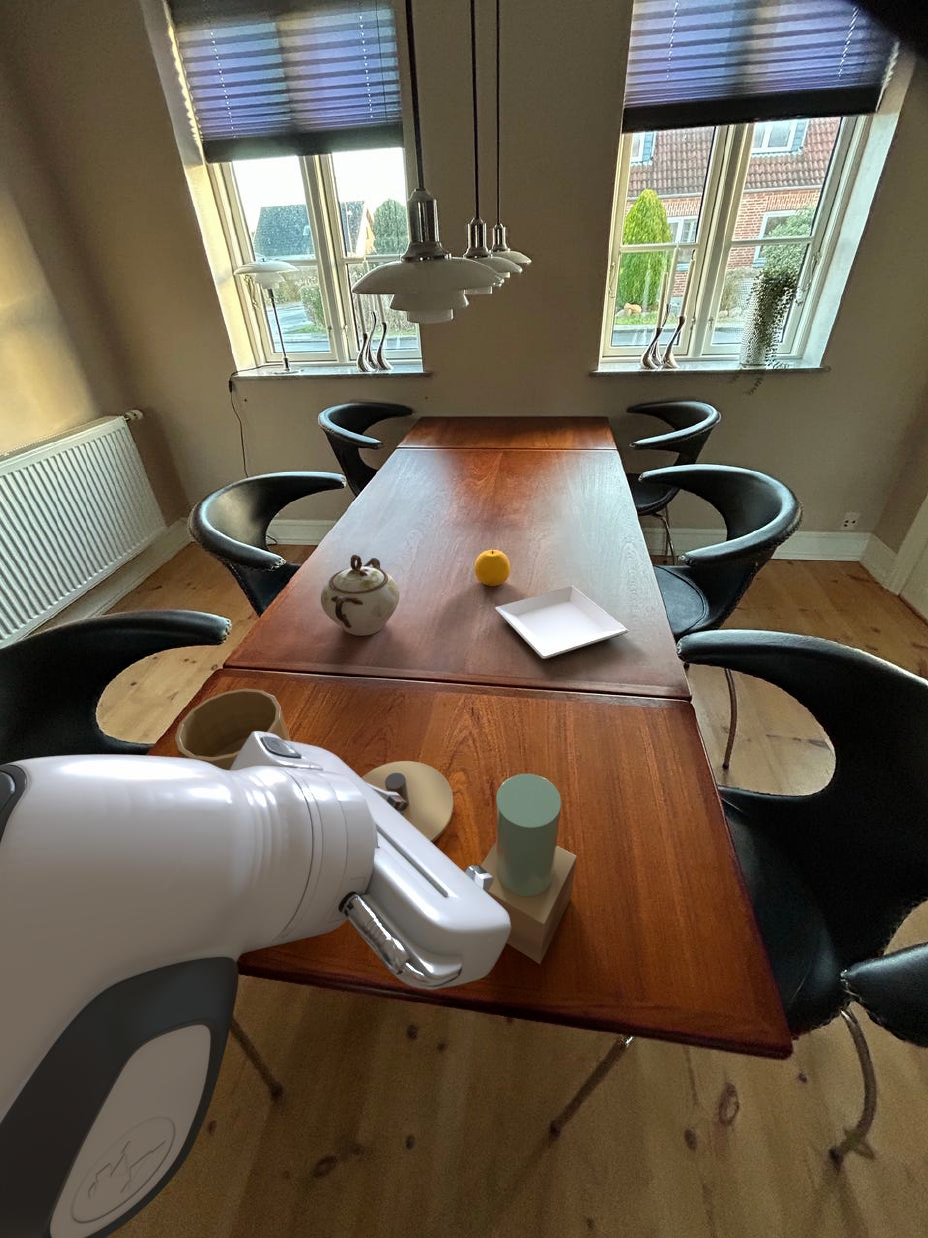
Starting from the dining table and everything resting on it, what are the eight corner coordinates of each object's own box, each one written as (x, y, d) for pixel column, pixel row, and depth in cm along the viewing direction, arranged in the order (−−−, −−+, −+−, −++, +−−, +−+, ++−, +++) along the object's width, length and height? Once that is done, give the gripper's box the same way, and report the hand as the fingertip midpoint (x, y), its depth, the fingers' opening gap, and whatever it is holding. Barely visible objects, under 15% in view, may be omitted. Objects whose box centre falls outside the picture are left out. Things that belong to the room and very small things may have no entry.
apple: (471, 588, 116) (470, 558, 112) (478, 571, 123) (478, 542, 118) (507, 592, 115) (507, 561, 110) (512, 574, 121) (513, 544, 117)
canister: (538, 908, 50) (544, 839, 44) (485, 877, 53) (484, 808, 47) (562, 859, 54) (571, 790, 48) (513, 833, 57) (514, 764, 51)
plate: (542, 667, 93) (543, 658, 92) (494, 615, 107) (494, 606, 106) (628, 639, 99) (630, 629, 98) (572, 593, 113) (573, 584, 112)
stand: (540, 964, 54) (544, 924, 49) (472, 922, 57) (470, 881, 53) (571, 897, 59) (577, 856, 55) (507, 862, 63) (508, 821, 58)
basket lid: (410, 880, 61) (405, 852, 58) (322, 825, 68) (313, 797, 65) (474, 793, 71) (473, 765, 68) (391, 752, 78) (387, 724, 75)
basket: (239, 825, 68) (218, 776, 63) (178, 782, 75) (154, 734, 69) (313, 757, 78) (300, 709, 72) (254, 724, 84) (237, 678, 78)
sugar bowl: (350, 595, 116) (339, 532, 107) (415, 601, 113) (409, 537, 104) (308, 648, 100) (291, 579, 92) (383, 657, 97) (372, 587, 88)
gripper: (450, 931, 24) (568, 895, 35) (243, 717, 36) (377, 740, 47) (384, 1059, 24) (523, 982, 34) (199, 800, 36) (344, 804, 47)
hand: (438, 841), depth 41 cm, fingers open, 8 cm apart
